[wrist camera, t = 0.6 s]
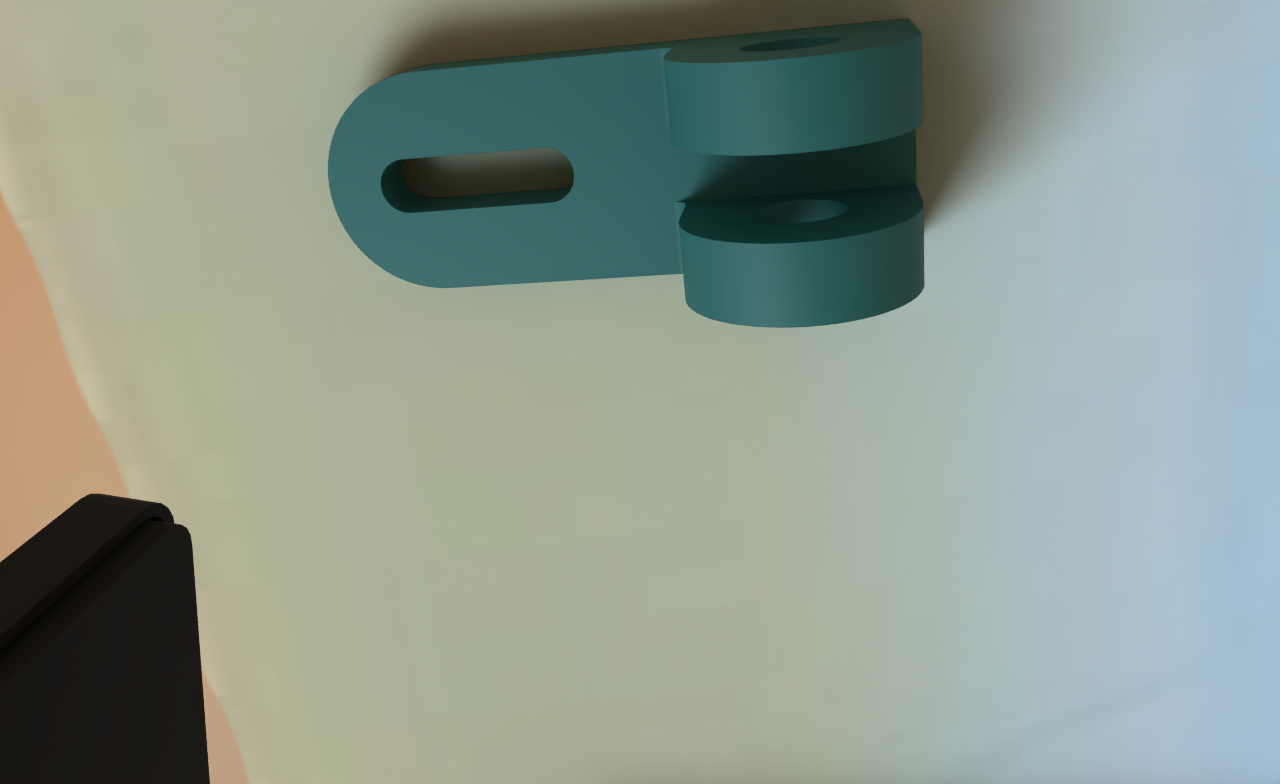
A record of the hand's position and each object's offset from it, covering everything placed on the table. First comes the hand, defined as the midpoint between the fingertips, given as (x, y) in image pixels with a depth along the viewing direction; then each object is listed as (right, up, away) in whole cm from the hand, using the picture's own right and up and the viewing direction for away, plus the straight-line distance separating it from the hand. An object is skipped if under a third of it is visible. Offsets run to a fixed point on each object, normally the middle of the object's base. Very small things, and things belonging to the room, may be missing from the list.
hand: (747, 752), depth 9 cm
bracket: (-1, +10, +28) cm, 30 cm away
